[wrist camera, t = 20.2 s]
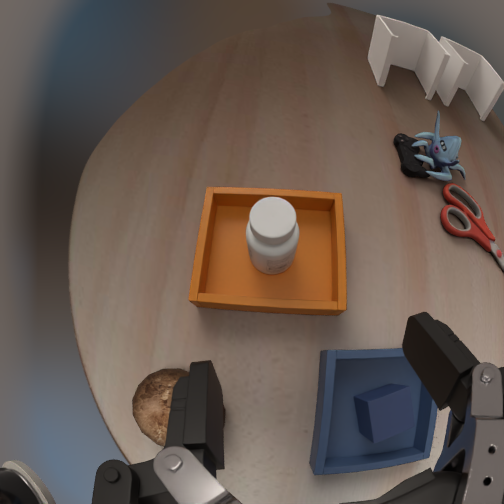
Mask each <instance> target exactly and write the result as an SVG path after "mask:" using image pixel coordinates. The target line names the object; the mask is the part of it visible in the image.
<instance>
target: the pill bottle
mask: <svg viewBox="0 0 504 504" xmlns="http://www.w3.org/2000/svg"><path fill="white" fill-rule="evenodd" d="M298 240H299V227H298V224H297V222H296V212H295V210H294V208H293V207H292V205H291V204H290V203H289V202H287V201H286V200H284V199H282V198H279V197H267V198H263V199H261V200H259V201H258V202H257V203H255V205H254V206H253V207H252V209H251V211H250V216H249V222H248V224H247V227H246V241H247V246H248V251H249V256H250V260H251V262H252V264H253V265H254V267H255V268H256V269H257V270H259V271H260V272H262V273H265V274H270V275H274V274H279V273H282V272H284V271H286V270H287V269H288V268H289V267H290V266H291V264H292V263H293V260H294V257H295V253H296V249H297V244H298Z"/></svg>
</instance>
